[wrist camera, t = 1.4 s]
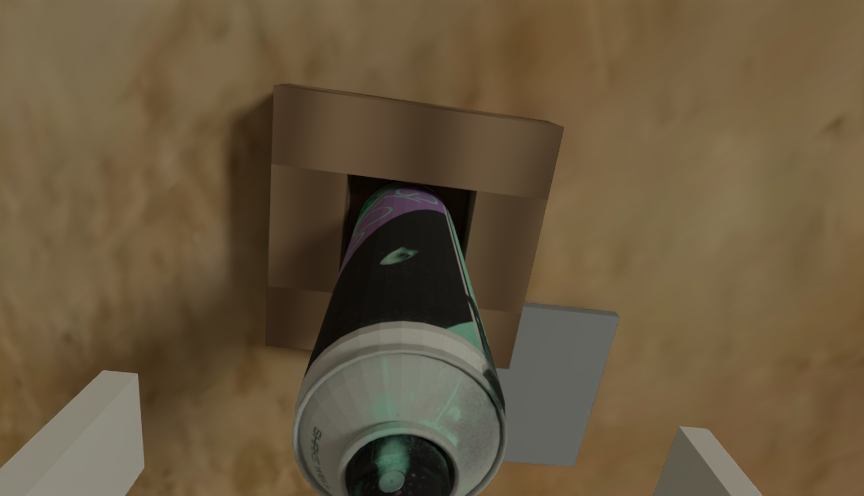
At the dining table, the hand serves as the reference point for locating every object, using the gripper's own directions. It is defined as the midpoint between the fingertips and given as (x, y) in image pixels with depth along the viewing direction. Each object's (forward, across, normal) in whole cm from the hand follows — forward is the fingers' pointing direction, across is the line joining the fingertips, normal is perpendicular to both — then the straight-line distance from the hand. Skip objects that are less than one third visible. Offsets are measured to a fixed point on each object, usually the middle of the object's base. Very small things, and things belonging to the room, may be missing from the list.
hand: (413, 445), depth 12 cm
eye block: (+18, 0, 0) cm, 18 cm away
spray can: (+18, 0, 0) cm, 18 cm away
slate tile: (+18, +8, -10) cm, 22 cm away
